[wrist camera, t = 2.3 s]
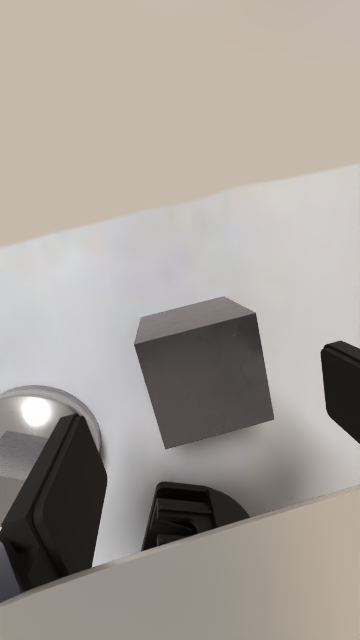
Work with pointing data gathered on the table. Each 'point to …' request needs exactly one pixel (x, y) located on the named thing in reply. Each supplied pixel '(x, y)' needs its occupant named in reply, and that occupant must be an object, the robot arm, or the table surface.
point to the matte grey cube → (204, 370)
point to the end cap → (188, 513)
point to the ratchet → (31, 432)
